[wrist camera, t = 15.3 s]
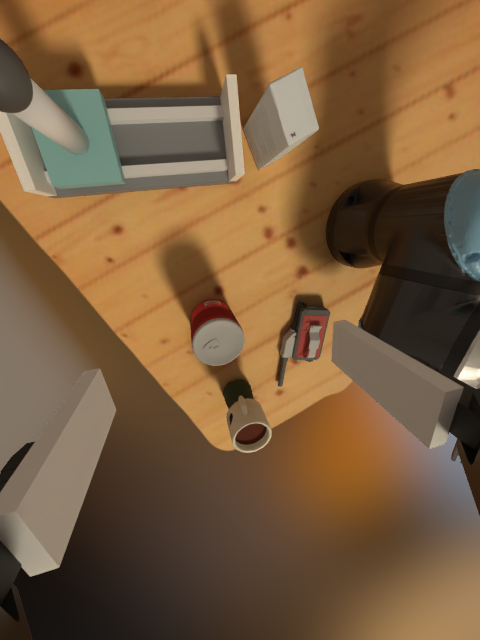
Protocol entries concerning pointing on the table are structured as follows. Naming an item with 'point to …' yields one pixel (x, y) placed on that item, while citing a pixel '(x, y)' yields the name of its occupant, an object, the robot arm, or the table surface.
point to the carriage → (62, 126)
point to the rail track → (149, 144)
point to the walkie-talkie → (304, 336)
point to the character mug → (245, 418)
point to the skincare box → (281, 119)
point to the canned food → (215, 333)
